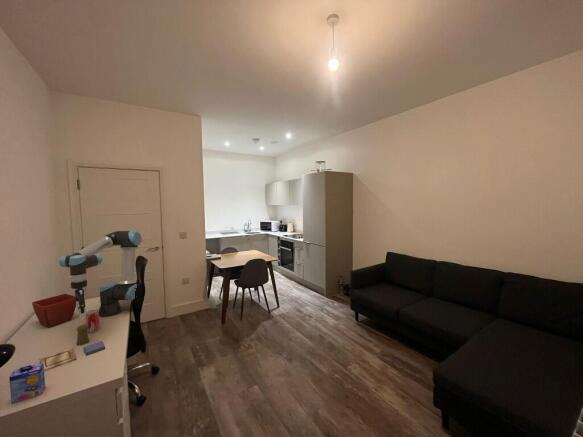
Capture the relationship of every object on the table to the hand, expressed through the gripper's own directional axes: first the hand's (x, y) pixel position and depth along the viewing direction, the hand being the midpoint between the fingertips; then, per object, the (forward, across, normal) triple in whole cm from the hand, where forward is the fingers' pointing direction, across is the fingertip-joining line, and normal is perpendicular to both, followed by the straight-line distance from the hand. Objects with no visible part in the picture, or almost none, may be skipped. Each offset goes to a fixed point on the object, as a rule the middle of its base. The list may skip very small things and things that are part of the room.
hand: (81, 314), depth 150 cm
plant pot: (+18, -49, -9) cm, 53 cm away
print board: (+18, +12, -12) cm, 25 cm away
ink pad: (+18, +14, +4) cm, 23 cm away
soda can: (+18, -14, +7) cm, 24 cm away
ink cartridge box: (+18, +36, -23) cm, 46 cm away
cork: (+18, 0, 0) cm, 18 cm away
